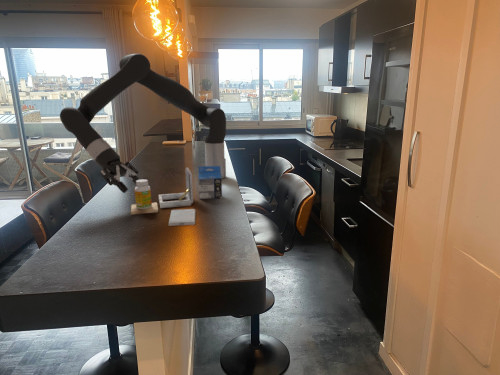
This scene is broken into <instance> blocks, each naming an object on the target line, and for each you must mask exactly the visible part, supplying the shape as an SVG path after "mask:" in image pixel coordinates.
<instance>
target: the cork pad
mask: <svg viewBox="0 0 500 375" xmlns="http://www.w3.org/2000/svg"><path fill="white" fill-rule="evenodd" d="M130 206H131V207H130V208H131V209H130V215H142V214H151V213H152V214H153V213H158V212H159V207H158V203H157V201H156V202H152V206H151V207H150V208H148V209H138V208H136V203H135V204H133V203H132V204H130Z"/></svg>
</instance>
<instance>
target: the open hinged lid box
mask: <svg viewBox="0 0 500 375" xmlns="http://www.w3.org/2000/svg"><path fill="white" fill-rule="evenodd" d="M184 171H185V186H186V187H185V188H186V189H185V192H178V193H177V192H176V193H163V194H158V201H159V206H160V207H159V208H160V209H166V208H177V207H179V208H180V207H188V206H189V207H190V206H192V204H194V195H193V194H194V189H193V186H194V185H193V173H192V171H191V170H190V169H189V167H185V170H184ZM167 200H168V201H167ZM169 200H170V201H169Z"/></svg>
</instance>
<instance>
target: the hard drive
mask: <svg viewBox="0 0 500 375" xmlns="http://www.w3.org/2000/svg"><path fill="white" fill-rule="evenodd" d="M193 225H194V226H195V225H196V209H195V208H189V209H188V208H185V209H171V211H170V216H169V220H168V227H172V226H174V227H175V226H193Z"/></svg>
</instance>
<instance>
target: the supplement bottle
mask: <svg viewBox="0 0 500 375" xmlns="http://www.w3.org/2000/svg"><path fill="white" fill-rule="evenodd" d="M135 185H136V186H135V188H134V196H135V197H134V200H135V204H136V208H138V209H148V208H150V207H151V206H152V203H153V201H152V192H151V191H152V190H151V186H150V185H149V180H148V179H142V178H141V179H140V180H137V181H136V184H135Z"/></svg>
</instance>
